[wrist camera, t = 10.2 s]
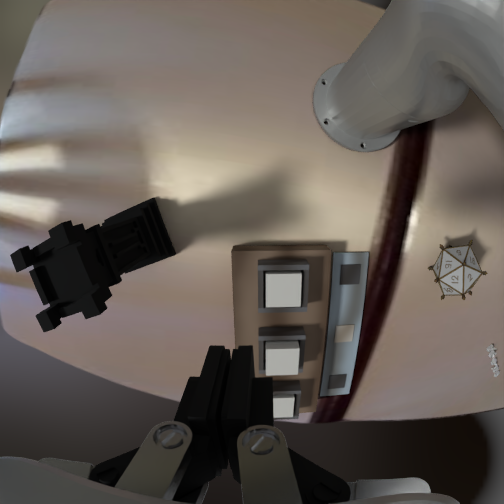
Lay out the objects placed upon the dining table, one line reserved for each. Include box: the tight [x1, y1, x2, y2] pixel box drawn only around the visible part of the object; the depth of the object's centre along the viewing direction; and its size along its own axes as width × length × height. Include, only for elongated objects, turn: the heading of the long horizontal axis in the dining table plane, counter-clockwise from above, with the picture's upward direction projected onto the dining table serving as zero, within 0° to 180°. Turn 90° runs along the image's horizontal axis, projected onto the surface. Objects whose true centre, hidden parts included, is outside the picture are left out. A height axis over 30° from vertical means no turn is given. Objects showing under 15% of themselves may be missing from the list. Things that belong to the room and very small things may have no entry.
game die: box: [428, 240, 488, 300], centre depth 34 cm, size 9×8×10 cm
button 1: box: [273, 394, 295, 418], centre depth 39 cm, size 4×4×2 cm
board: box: [231, 245, 369, 420], centre depth 38 cm, size 18×26×5 cm
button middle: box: [266, 340, 300, 376], centre depth 35 cm, size 4×4×2 cm
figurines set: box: [487, 344, 499, 377], centre depth 42 cm, size 12×3×3 cm, turn 40°
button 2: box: [265, 270, 302, 307], centre depth 35 cm, size 4×4×2 cm
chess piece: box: [10, 198, 176, 332], centre depth 29 cm, size 8×8×20 cm
